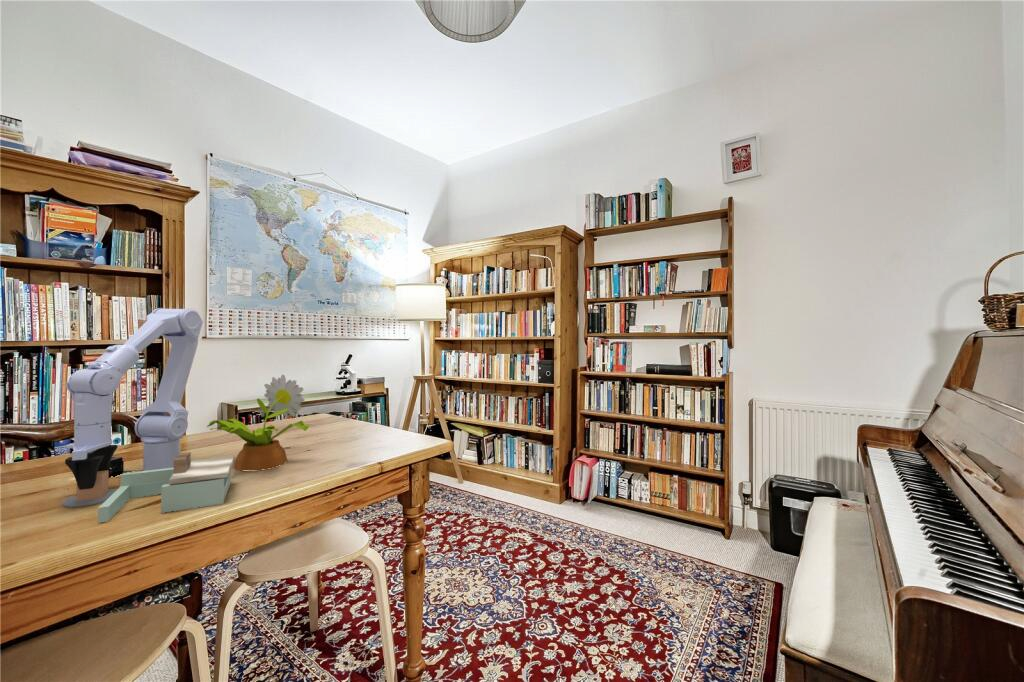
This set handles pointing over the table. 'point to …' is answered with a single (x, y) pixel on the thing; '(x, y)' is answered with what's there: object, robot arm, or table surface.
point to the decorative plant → (259, 443)
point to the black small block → (116, 466)
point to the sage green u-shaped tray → (165, 492)
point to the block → (95, 488)
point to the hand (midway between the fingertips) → (92, 483)
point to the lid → (199, 468)
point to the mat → (74, 503)
